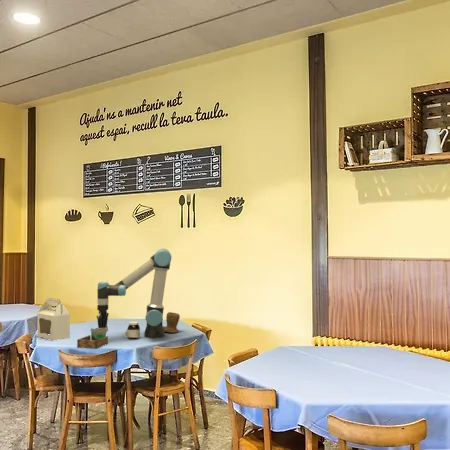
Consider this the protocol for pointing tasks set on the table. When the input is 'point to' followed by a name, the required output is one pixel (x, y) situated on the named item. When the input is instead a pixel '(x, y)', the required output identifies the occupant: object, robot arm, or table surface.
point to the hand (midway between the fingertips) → (102, 337)
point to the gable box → (53, 321)
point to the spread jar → (133, 330)
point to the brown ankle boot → (172, 322)
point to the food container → (98, 333)
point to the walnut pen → (91, 342)
